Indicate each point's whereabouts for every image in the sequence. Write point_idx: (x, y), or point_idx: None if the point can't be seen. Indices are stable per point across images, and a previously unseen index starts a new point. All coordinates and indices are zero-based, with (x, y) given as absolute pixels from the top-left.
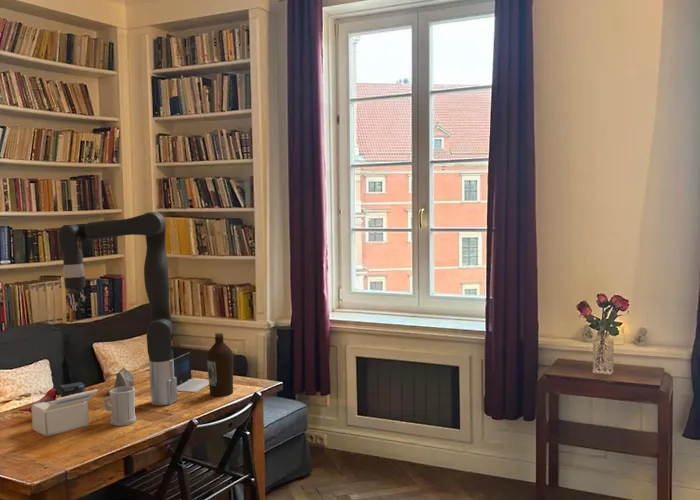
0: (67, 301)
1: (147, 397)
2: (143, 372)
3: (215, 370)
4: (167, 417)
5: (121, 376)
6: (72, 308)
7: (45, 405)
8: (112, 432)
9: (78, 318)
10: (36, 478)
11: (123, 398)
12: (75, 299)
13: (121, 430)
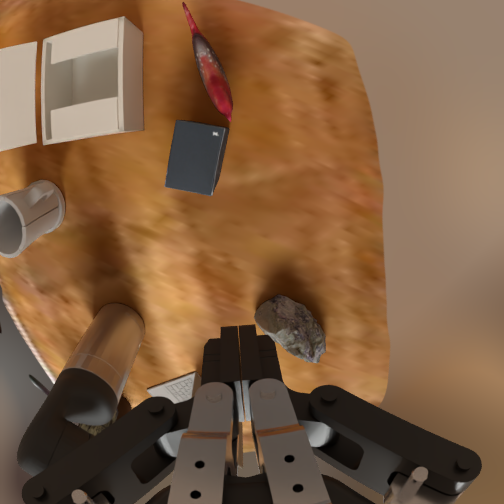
0: (426, 431)
1: (183, 324)
2: (380, 390)
3: (80, 425)
4: (28, 277)
5: (269, 330)
6: (288, 394)
7: (81, 44)
8: (9, 164)
9: (208, 345)
10: None
11: None
12: (171, 501)
13: (9, 181)
